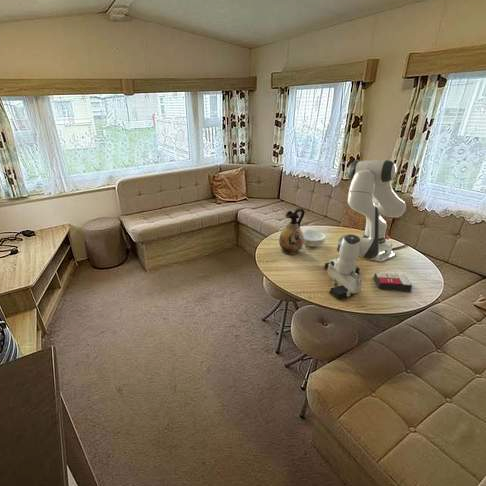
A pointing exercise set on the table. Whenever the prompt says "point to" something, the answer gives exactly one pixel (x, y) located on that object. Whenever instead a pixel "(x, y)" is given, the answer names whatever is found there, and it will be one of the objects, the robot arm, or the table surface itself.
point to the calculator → (392, 281)
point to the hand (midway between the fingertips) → (341, 290)
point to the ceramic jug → (292, 233)
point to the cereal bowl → (313, 238)
